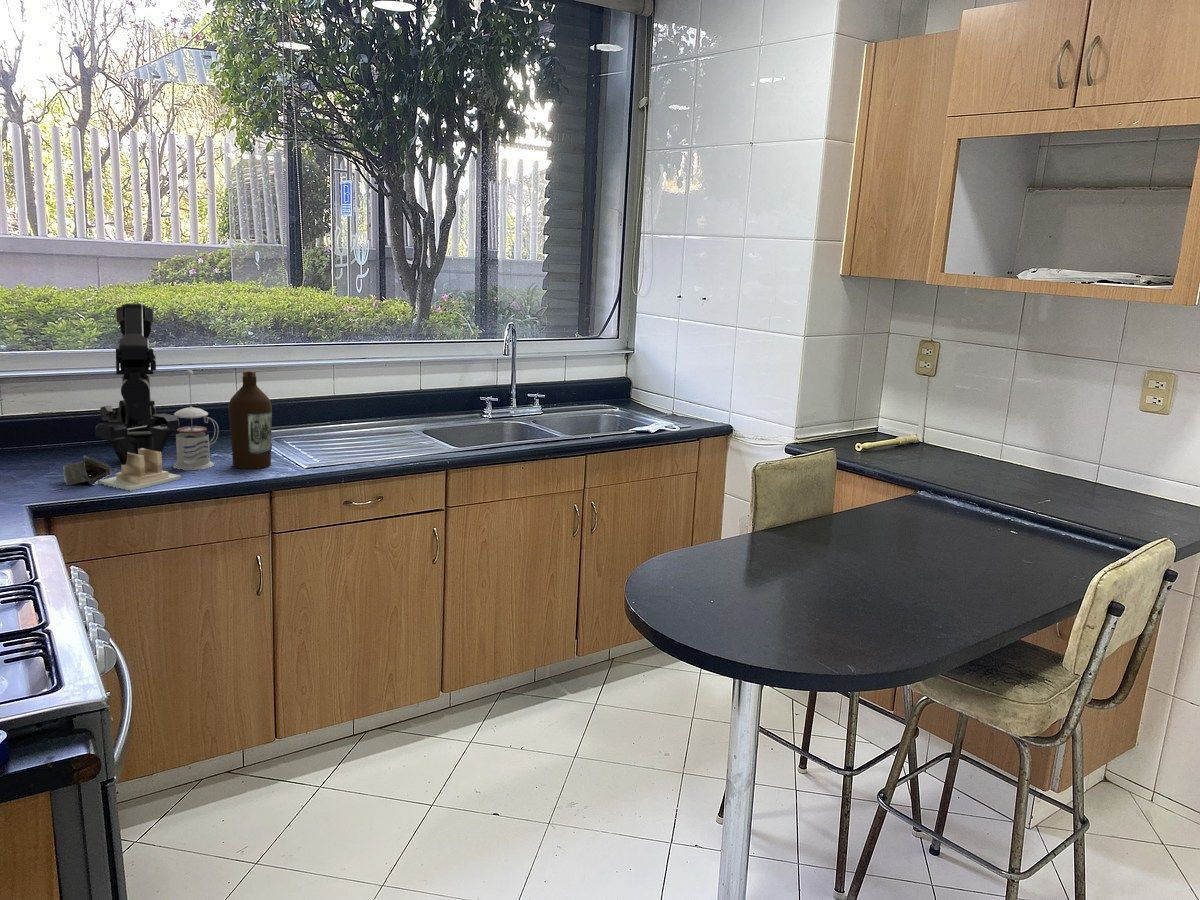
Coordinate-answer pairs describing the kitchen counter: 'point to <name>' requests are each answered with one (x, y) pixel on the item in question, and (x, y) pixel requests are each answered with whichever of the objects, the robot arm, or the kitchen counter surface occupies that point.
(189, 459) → the french press
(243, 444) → the olive oil
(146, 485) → the sage board
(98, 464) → the chocolate cake
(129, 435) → the robot arm
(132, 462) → the wooden slotted holder
